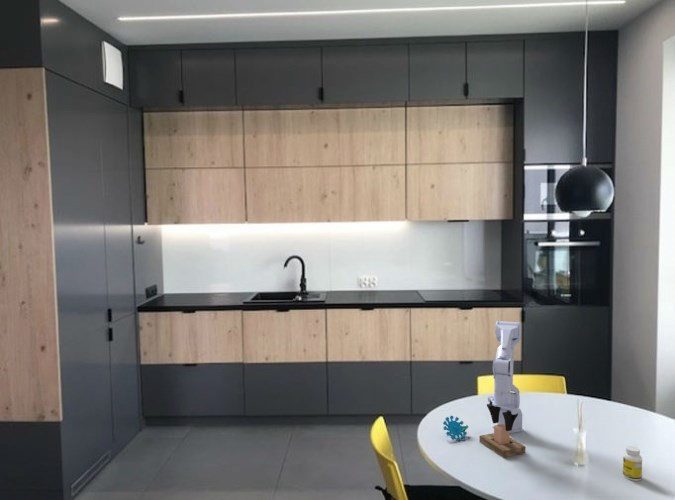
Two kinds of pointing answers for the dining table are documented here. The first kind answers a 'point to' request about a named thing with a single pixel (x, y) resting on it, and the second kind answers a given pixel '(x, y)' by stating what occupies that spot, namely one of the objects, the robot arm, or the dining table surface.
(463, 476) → the dining table surface
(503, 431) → the peg
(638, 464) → the supplement bottle
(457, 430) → the gear
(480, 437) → the socket block
